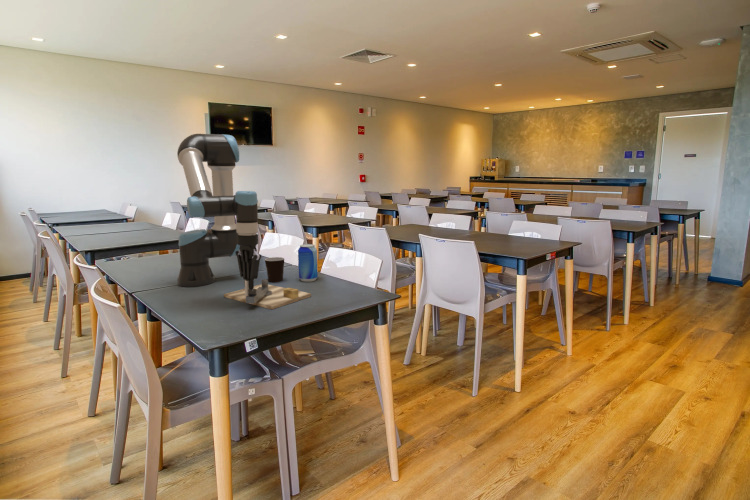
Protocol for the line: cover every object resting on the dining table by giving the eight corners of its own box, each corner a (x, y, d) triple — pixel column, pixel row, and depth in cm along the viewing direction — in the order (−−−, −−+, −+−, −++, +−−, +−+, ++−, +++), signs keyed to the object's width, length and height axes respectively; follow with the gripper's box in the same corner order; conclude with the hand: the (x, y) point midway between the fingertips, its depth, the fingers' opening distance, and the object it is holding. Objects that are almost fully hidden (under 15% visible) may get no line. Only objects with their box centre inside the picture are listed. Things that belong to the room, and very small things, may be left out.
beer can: (295, 281, 195) (294, 246, 193) (305, 277, 203) (304, 243, 200) (311, 282, 192) (310, 247, 189) (321, 278, 200) (320, 244, 197)
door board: (224, 297, 171) (222, 279, 170) (263, 286, 187) (263, 270, 186) (271, 309, 155) (270, 290, 154) (311, 296, 171) (310, 279, 170)
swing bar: (260, 292, 168) (259, 281, 168) (267, 292, 168) (267, 281, 167) (246, 303, 155) (245, 291, 154) (254, 303, 154) (253, 291, 154)
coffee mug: (280, 283, 192) (279, 261, 190) (262, 282, 193) (261, 260, 192) (290, 277, 203) (289, 256, 201) (273, 276, 205) (272, 255, 203)
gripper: (267, 234, 156) (268, 297, 160) (246, 231, 164) (247, 291, 168) (249, 236, 150) (251, 302, 154) (228, 233, 159) (230, 295, 163)
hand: (249, 296), depth 161 cm, fingers closed
